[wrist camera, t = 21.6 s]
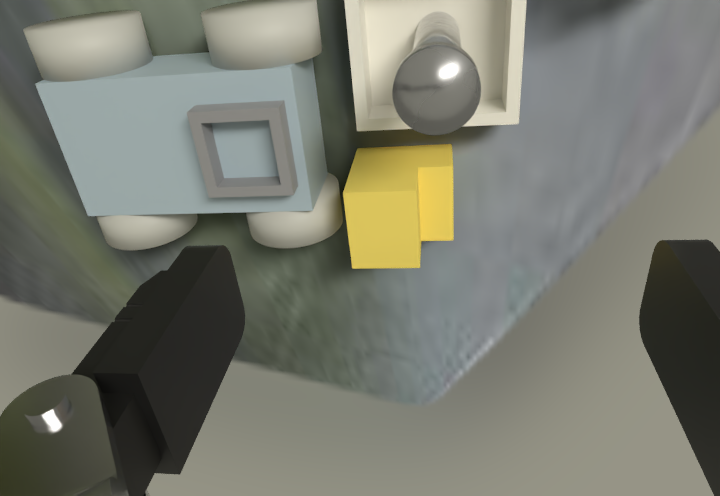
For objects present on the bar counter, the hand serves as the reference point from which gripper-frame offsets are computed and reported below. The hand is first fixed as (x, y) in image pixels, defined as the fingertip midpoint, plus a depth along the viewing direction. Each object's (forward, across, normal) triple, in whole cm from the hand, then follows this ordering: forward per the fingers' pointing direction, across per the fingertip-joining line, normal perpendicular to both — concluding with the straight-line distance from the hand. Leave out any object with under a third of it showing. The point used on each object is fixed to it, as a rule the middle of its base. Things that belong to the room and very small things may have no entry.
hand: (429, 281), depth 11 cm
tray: (+24, 0, 0) cm, 24 cm away
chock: (+24, +2, +9) cm, 26 cm away
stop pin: (+24, 0, 0) cm, 24 cm away
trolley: (+24, +14, +4) cm, 28 cm away
